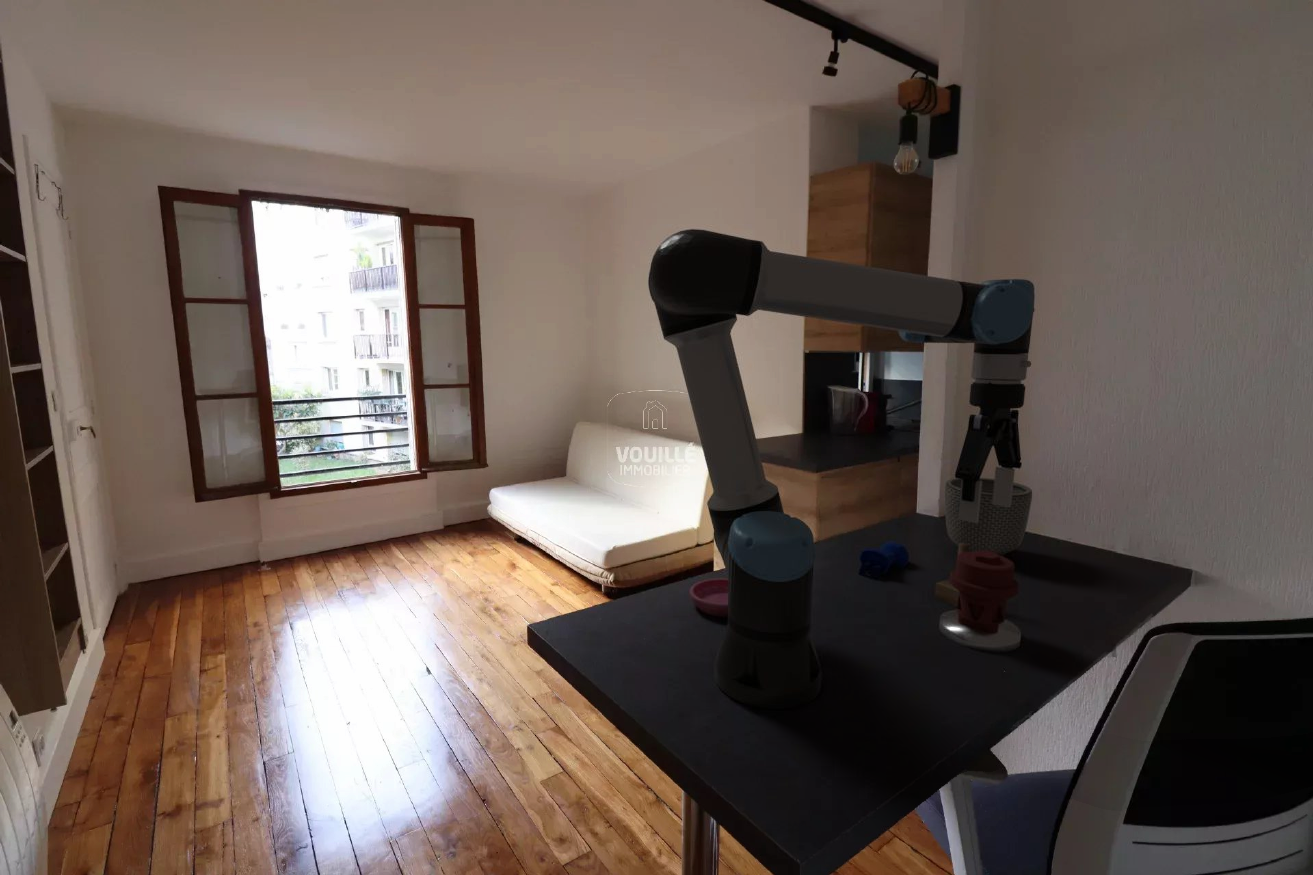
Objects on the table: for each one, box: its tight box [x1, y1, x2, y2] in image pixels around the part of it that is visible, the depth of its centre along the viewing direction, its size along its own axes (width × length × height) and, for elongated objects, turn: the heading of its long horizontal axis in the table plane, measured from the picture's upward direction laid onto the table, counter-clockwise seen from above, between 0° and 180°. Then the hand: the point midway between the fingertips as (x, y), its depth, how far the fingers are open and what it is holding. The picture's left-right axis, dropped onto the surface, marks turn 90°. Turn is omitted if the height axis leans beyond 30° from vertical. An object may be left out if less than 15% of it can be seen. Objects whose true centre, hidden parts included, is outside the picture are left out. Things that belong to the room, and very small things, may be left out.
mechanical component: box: [949, 550, 1020, 633], centre depth 101 cm, size 12×10×10 cm
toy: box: [858, 541, 910, 581], centre depth 131 cm, size 7×6×15 cm
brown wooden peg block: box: [934, 543, 970, 609], centre depth 114 cm, size 6×6×11 cm
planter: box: [944, 477, 1033, 557], centre depth 139 cm, size 17×17×16 cm
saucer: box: [689, 577, 728, 618], centre depth 113 cm, size 12×12×3 cm
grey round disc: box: [938, 609, 1022, 653], centre depth 102 cm, size 12×12×2 cm
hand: (985, 513), depth 99 cm, fingers open, 13 cm apart
